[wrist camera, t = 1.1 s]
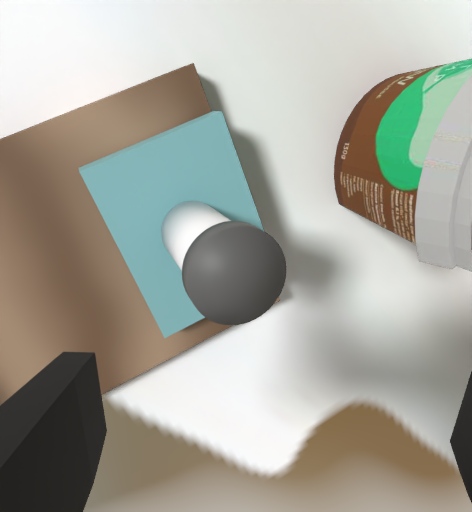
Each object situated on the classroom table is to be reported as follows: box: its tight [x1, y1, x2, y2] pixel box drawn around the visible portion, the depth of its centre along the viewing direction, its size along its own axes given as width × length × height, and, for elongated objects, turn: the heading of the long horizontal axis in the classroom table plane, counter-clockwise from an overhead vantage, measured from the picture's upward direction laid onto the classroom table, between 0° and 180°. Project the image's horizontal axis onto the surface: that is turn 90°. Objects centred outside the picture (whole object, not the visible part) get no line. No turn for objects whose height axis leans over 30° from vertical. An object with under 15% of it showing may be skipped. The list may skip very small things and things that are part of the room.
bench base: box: [0, 63, 280, 405], centre depth 18 cm, size 18×12×6 cm, turn 111°
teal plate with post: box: [79, 111, 286, 338], centre depth 17 cm, size 6×8×7 cm
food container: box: [334, 59, 472, 271], centre depth 20 cm, size 12×6×10 cm, turn 114°
